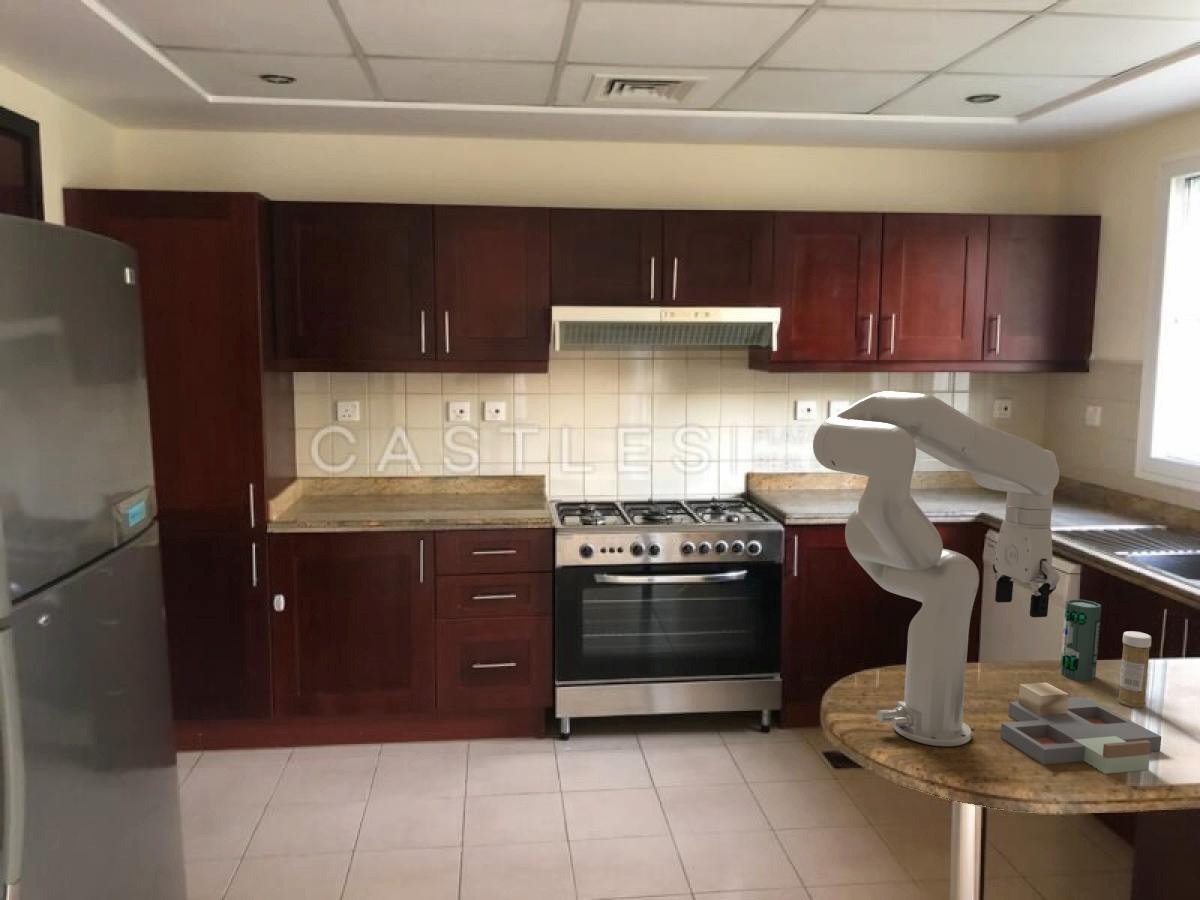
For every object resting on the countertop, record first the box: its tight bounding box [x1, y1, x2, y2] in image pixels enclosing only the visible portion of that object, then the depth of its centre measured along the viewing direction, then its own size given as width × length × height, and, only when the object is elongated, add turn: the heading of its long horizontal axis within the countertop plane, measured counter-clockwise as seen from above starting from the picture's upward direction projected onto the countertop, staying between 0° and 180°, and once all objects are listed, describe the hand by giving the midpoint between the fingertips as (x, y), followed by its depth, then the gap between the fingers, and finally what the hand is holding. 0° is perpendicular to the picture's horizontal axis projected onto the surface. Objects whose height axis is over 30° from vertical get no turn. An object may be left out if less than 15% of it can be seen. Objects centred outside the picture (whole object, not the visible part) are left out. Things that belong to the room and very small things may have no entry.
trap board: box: [1000, 696, 1162, 775], centre depth 155 cm, size 23×23×4 cm
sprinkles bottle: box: [1117, 630, 1152, 709], centre depth 171 cm, size 5×5×13 cm
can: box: [1059, 598, 1102, 682], centre depth 186 cm, size 6×6×15 cm
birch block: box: [1017, 682, 1069, 715], centre depth 162 cm, size 6×6×4 cm
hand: (1020, 609), depth 168 cm, fingers open, 9 cm apart
